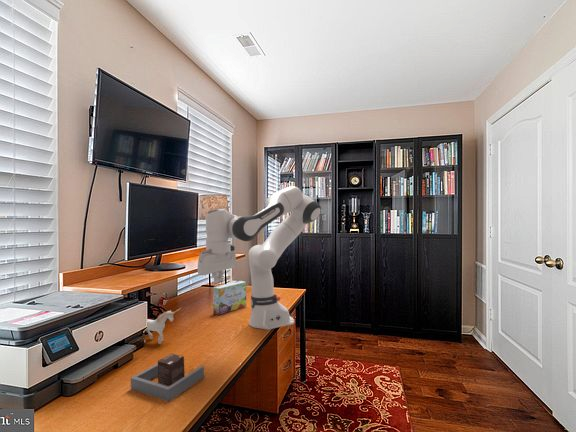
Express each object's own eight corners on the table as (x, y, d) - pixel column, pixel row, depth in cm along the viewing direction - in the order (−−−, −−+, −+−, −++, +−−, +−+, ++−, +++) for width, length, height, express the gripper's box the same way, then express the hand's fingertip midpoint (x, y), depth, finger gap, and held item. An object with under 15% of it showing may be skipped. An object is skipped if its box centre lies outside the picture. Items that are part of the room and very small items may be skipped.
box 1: (172, 374, 106) (171, 353, 106) (185, 378, 103) (184, 356, 103) (157, 383, 101) (157, 360, 101) (170, 387, 98) (170, 364, 98)
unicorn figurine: (177, 344, 132) (176, 312, 132) (130, 346, 130) (129, 314, 130) (182, 337, 139) (181, 307, 139) (137, 339, 138) (137, 309, 138)
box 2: (168, 367, 111) (168, 357, 111) (204, 376, 104) (204, 366, 104) (130, 389, 97) (130, 377, 97) (168, 401, 90) (168, 389, 90)
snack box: (219, 315, 169) (219, 288, 169) (212, 313, 172) (212, 286, 172) (247, 306, 186) (246, 281, 186) (240, 304, 189) (240, 280, 189)
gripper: (205, 251, 115) (206, 288, 115) (238, 246, 134) (238, 278, 134) (193, 250, 118) (193, 287, 118) (226, 245, 136) (227, 277, 136)
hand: (218, 282), depth 126 cm, fingers closed
